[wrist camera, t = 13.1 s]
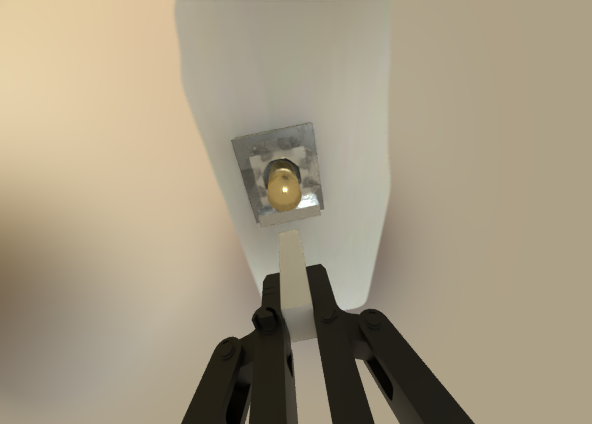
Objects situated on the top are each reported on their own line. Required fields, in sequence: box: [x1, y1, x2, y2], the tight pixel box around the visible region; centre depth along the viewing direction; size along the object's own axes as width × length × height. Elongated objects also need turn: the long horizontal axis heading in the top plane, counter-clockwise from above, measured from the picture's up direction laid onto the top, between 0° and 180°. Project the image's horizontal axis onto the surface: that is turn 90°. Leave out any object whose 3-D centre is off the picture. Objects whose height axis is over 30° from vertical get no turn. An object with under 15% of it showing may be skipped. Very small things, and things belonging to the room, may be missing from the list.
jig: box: [231, 123, 324, 227], centre depth 33 cm, size 14×12×5 cm
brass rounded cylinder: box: [267, 161, 302, 211], centre depth 31 cm, size 4×4×10 cm
